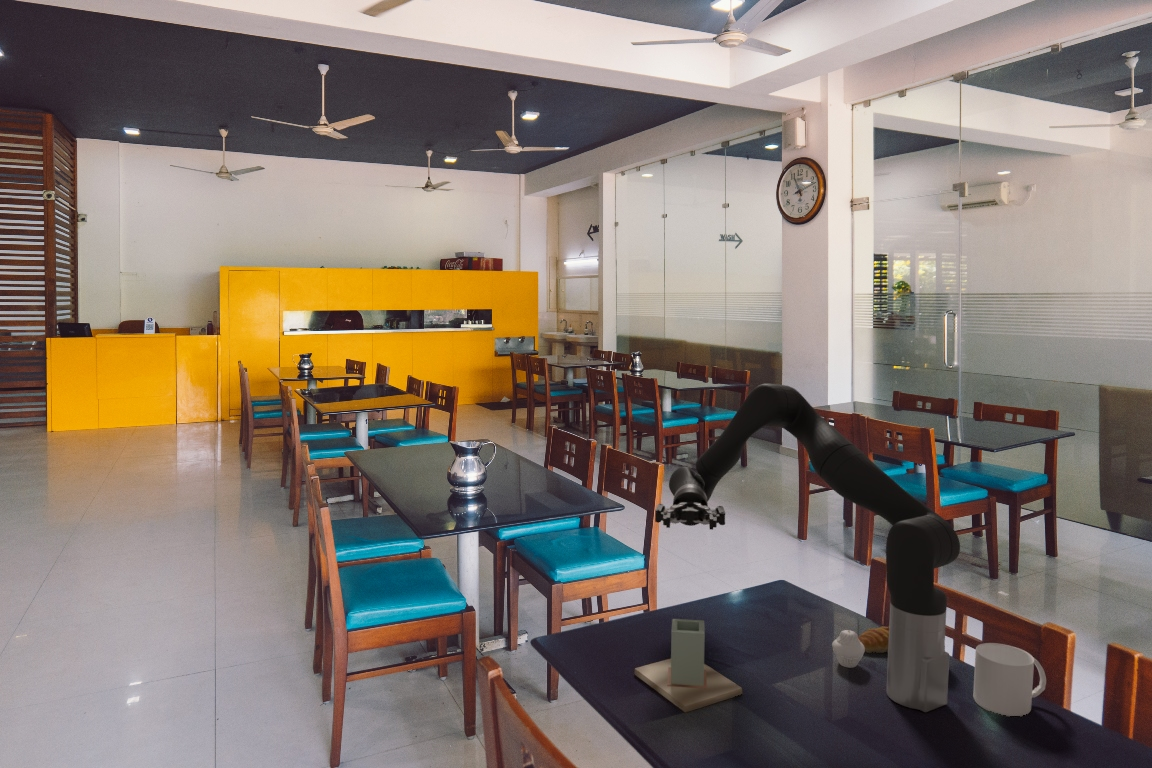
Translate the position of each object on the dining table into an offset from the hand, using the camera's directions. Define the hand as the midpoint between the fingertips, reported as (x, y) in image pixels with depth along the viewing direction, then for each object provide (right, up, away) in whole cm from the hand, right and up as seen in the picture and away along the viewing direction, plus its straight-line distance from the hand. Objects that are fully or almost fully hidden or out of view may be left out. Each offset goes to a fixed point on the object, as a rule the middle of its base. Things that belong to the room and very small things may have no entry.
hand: (689, 523), depth 151 cm
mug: (+55, -30, -15) cm, 64 cm away
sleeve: (-2, -27, -8) cm, 29 cm away
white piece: (+31, -28, 0) cm, 42 cm away
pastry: (+41, -28, +8) cm, 50 cm away
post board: (-2, -29, -8) cm, 30 cm away
